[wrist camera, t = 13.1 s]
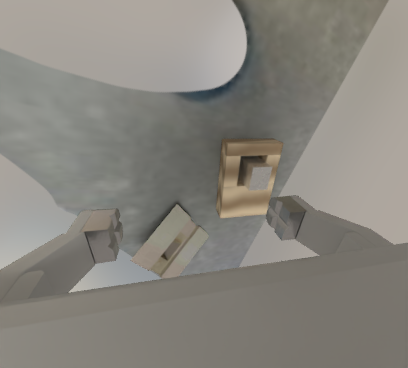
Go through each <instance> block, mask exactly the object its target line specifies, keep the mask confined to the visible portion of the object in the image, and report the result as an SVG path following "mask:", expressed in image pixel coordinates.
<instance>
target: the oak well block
mask: <svg viewBox="0 0 408 368" xmlns="http://www.w3.org/2000/svg"><path fill="white" fill-rule="evenodd" d="M282 147H283V143H282V142H280V141H277V140H275V139H222V147H221V159H220V170H219V182H218V193H217V205H216V209H217V212H218V214H219V216H220V218H229V217H240V216H250V215H261V214H266V213H267V209H268V205H269V200H270V196H271V192H272V188H273V184H274V180H275V176H276V172H277V168H278V164H279V160H280V155H281V151H282ZM257 155H258V157H259V158H261V159H262V160H264V161H265V162H266V163H268V164H269V165H271V166H272V171H271V175H270V179H269V184H268V188H267V190H252V191H249V190H248V189H247V188H246V187H245V185H244V184H243V183H242V182H241V181H240V179H239V178H238V172H239V165H240V158H241V156H257Z"/></svg>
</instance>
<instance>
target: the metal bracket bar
mask: <svg viewBox="0 0 408 368" xmlns="http://www.w3.org/2000/svg"><path fill="white" fill-rule="evenodd" d="M271 171H272V166H271V165H269V164H268V163H266V162H265V161H264V160H262V159H261V158H259V157H258V156H241V158H240V165H239V172H238V178H239V179H240V181H241V182H242V183H243V184H244V185H245V187H246V188H247V189H248V190H249V191H252V190H267V188H268V184H269V179H270V175H271Z"/></svg>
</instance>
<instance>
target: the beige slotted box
mask: <svg viewBox="0 0 408 368" xmlns="http://www.w3.org/2000/svg"><path fill="white" fill-rule="evenodd" d="M208 237H209V236H208V233H206V232H205V231H204V230H203V229H202V228H201V227H200V226H195V224H194V223H193V221H191V217H190V216H189V215H188V214H187V213H186V212H185V211H184V210H183V209H182V208H181V207H180V206H178V204H176V206H175V207H174V208H173V209H172V211H171V212H170V213H169V214H168V215H167V216H166V218H165V219H164V220H163V221H162V223H161V224H160V225H159V227H157V229H156V230H155V231H154V233H153V234H152V235H151V236H150V237H149V238H148V240H147V241H146V242H145V244H144V245H143V246H142V247H141V248H140V249H139V251H138V252H137V254H136V255H135V256H134V257H133V258H132V260H131V261H132V262H134V263H135V264H138V265H139V266H142V267H143V268H145V269H147V270H148V271H149V270H153V271H154V272H156V273H158V274H159V275H160V277H161V278H163V279H166V278H172V277H178V276H179V275H180V274H181V272H182V271H183V270H184V268H185V267H186V265H187V264H188V263H189V261H190V260H191V259H192V258H193V256H194V255H195V254H196V253H197V251H198V250H199V249H200V247H201V246H202V245H203V243H204V242H205V241H206V240H207V239H208Z"/></svg>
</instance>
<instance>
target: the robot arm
mask: <svg viewBox="0 0 408 368" xmlns="http://www.w3.org/2000/svg"><path fill="white" fill-rule="evenodd" d="M269 206H270V208H269V209H268V210H267V213H266V219H267V222H268V224H269V225H270V226H271V227H273V228H274V229H275V233H276V234H277V235H278V237H279V238H280V239H281V240H290V239H296V240H297V241H298V242H300V243H301V244H303V245H304V246H306V247H308V248H309V249H311V250H313V251H314V252H315V253H317V254H318V255H320V256H315V257H309V258H302V259H295V260H288V261H281V262H274V263H267V264H260V265H254V266H247V267H240V268H233V269H226V270H220V271H213V272H206V273H199V274H193V275H186V276H179V277H172V278H166V279H159V280H152V281H145V282H138V283H132V284H126V285H118V286H111V287H104V288H98V289H91V290H84V291H77V292H71V293H68V292H69V291H70V290H71V289H72V288H73V287H74V286H75V285H76V284H77V283H78V282H79V281H80V280H81V279H82V278H83V277H84V276H85V275H86V274H87V273H88V272H89V271H90V270H91V269H92V267H93V266H94V265H95V264H97V263H103V262H110V261H116V258H117V255H118V251H119V246H118V244H119V243H121V241H122V236H123V227H122V223H121V222H120V221H119V218H120V213H119V210H118V209H117V208H116V209H97V210H84V211H81V213H80V214H79V215H78V217H77V218H76V220H75V221H74V223H73V224H72V225H71V227H70V228H69V230H68V231H67V233H66V234H61V235H59V236H58V237H56V238H54V239H52V240H51V241H49V242H47V243H45V244H44V245H42V246H40V247H39V248H37V249H35V250H34V251H32V252H30V253H28V254H27V255H25V256H23V257H22V258H20V259H18V260H16V261H15V262H13V263H11V264H10V265H8V266H6V267H4V268H3V269H1V270H0V368H408V243H403V244H396V245H393V244H392V243H390V242H389V241H388V240H386V239H384V238H383V237H382V236H380V235H379V234H377V233H375V232H374V231H373V230H371V229H369V228H366V227H363V226H360V225H358V224H355V223H352V222H350V221H347V220H344V219H341V218H339V217H336V216H333V215H330V214H327V213H325V212H322V211H319V210H318V211H317V210H315V209H314V208H313V207H312V206H310V205H309V204H308V203H306V202H305V201H304V200H303V199H301V198H300V197H299V196H296V195H293V196H285V197H273V198H271V199H270V201H269Z"/></svg>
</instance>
